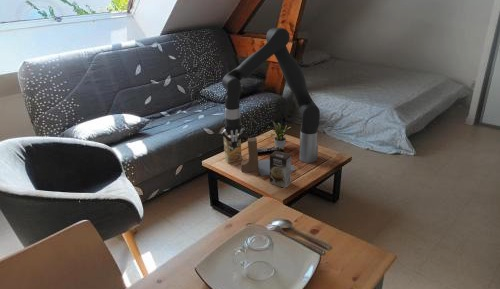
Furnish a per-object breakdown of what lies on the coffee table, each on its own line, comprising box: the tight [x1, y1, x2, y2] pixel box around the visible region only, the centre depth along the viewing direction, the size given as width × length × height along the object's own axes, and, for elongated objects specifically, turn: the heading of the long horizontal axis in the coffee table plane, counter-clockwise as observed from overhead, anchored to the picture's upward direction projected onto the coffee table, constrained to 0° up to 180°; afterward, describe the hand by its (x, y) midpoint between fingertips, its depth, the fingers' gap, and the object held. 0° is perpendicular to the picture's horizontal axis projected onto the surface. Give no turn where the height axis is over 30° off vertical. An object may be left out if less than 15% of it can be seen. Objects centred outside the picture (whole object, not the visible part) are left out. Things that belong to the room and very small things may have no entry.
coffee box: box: [269, 150, 293, 189], centre depth 176 cm, size 9×6×16 cm
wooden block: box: [240, 137, 259, 173], centre depth 188 cm, size 9×4×18 cm, turn 89°
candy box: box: [222, 133, 243, 164], centre depth 200 cm, size 9×4×15 cm, turn 118°
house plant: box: [269, 121, 292, 150], centre depth 212 cm, size 14×14×16 cm
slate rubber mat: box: [258, 158, 296, 177], centre depth 195 cm, size 19×16×1 cm
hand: (234, 147), depth 184 cm, fingers closed
